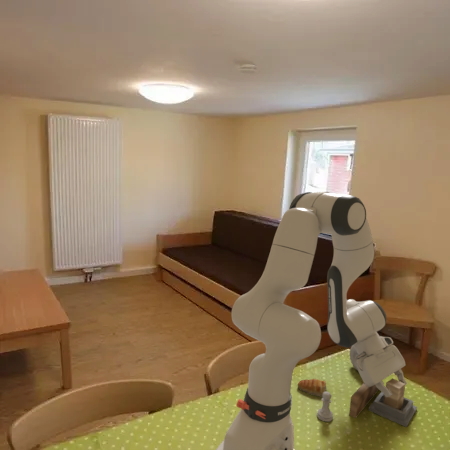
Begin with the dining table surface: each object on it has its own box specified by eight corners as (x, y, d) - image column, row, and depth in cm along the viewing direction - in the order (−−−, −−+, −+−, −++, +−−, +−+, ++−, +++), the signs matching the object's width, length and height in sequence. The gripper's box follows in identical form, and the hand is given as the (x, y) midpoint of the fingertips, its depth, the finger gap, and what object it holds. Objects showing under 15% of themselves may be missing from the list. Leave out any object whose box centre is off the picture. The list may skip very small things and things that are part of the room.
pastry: (297, 393, 124) (297, 382, 123) (298, 382, 130) (299, 372, 129) (326, 398, 121) (327, 387, 121) (326, 387, 128) (327, 377, 127)
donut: (370, 376, 135) (373, 350, 134) (362, 377, 134) (365, 351, 133) (354, 362, 145) (356, 338, 143) (346, 363, 144) (348, 339, 142)
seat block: (406, 427, 109) (407, 417, 109) (368, 410, 116) (369, 401, 116) (416, 409, 117) (417, 400, 117) (380, 395, 124) (381, 386, 124)
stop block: (396, 413, 114) (399, 388, 112) (383, 406, 117) (386, 382, 115) (402, 408, 116) (405, 384, 115) (389, 401, 119) (392, 378, 118)
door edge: (355, 418, 112) (357, 399, 111) (349, 414, 113) (351, 396, 112) (380, 387, 129) (382, 371, 128) (374, 385, 130) (376, 369, 129)
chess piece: (335, 421, 110) (338, 396, 109) (320, 422, 109) (322, 397, 108) (329, 411, 115) (331, 387, 113) (314, 412, 114) (316, 387, 113)
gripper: (360, 353, 112) (388, 399, 106) (393, 336, 125) (420, 376, 119) (345, 361, 117) (371, 406, 111) (379, 343, 129) (404, 383, 123)
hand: (397, 390), depth 115 cm, fingers open, 8 cm apart
